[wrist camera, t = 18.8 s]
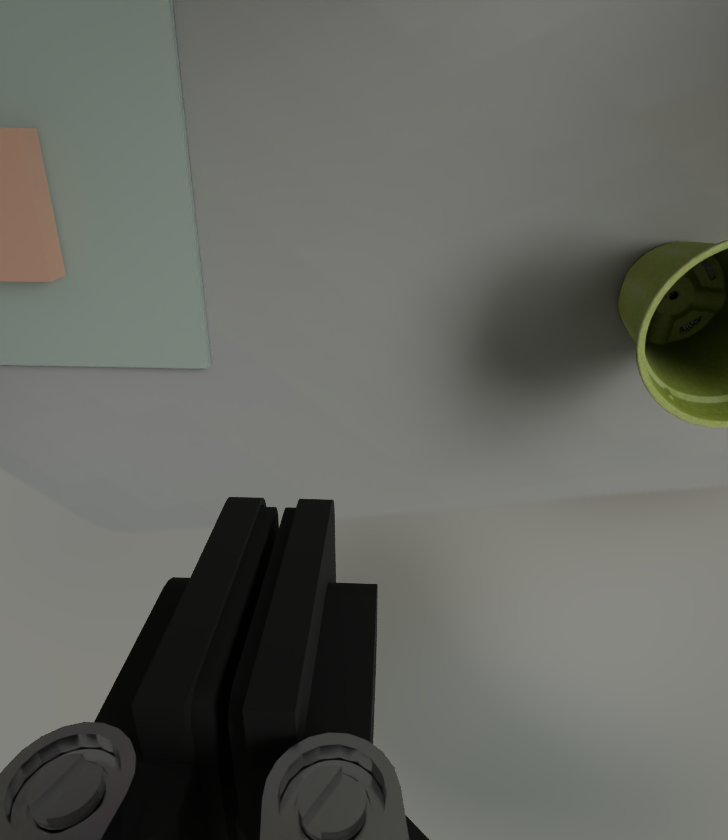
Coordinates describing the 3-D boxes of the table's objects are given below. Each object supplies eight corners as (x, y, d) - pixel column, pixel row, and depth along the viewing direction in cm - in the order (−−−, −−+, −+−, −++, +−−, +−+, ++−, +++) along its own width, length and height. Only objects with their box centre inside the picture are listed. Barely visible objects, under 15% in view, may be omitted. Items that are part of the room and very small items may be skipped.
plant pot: (639, 397, 39) (700, 462, 32) (556, 284, 37) (600, 325, 29) (780, 304, 37) (886, 350, 29) (702, 174, 34) (795, 186, 26)
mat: (-131, -3, 32) (-140, -5, 32) (171, -5, 31) (167, -7, 31) (-29, 361, 40) (-35, 364, 40) (211, 365, 40) (208, 368, 39)
